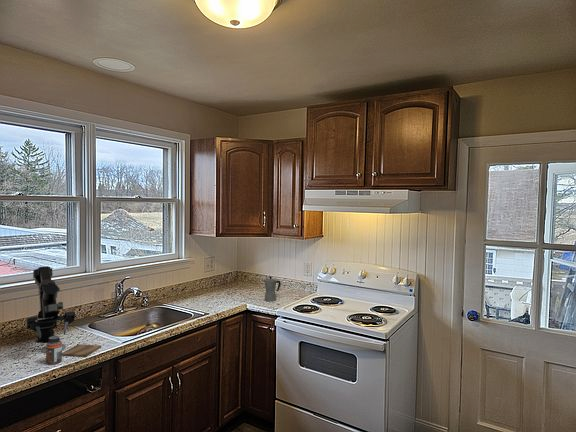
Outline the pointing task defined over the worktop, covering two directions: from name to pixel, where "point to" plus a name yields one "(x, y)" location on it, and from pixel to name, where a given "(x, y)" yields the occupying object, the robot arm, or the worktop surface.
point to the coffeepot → (271, 289)
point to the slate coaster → (45, 348)
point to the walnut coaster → (81, 350)
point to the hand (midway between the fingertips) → (52, 336)
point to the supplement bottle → (54, 350)
